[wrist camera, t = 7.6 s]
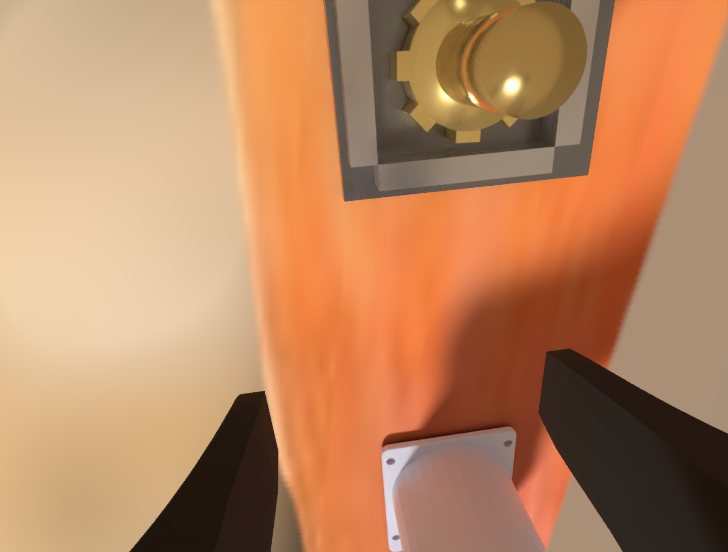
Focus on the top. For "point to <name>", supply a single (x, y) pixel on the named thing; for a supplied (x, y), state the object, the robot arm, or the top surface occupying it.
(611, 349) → the top surface
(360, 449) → the top surface
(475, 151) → the carrier
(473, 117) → the planet gear
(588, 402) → the robot arm
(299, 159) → the top surface
